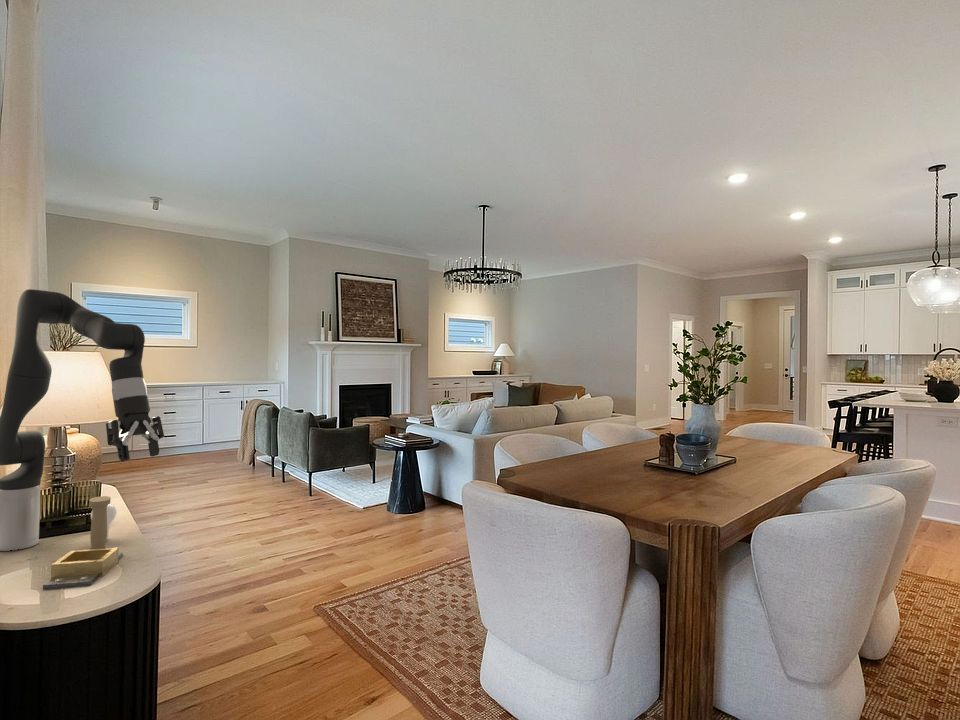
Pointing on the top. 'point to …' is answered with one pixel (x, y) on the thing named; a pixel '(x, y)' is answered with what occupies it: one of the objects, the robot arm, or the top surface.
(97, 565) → the wooden frame on plate
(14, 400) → the robot arm
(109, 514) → the lightbulb
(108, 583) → the top surface
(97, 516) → the handle
